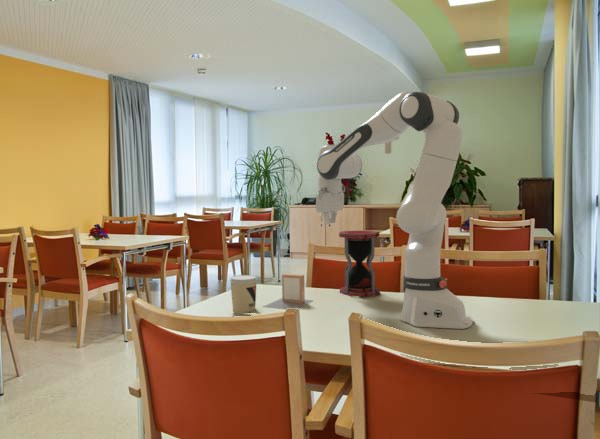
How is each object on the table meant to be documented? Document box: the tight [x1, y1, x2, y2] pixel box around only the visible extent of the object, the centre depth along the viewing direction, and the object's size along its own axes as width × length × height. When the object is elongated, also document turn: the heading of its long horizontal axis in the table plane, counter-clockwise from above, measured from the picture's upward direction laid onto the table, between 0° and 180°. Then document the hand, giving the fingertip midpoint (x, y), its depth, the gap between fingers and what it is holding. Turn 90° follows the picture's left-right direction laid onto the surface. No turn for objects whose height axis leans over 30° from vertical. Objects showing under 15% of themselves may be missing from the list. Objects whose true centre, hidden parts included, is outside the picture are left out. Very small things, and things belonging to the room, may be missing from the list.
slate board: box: [262, 297, 314, 310], centre depth 187 cm, size 13×16×1 cm
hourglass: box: [338, 230, 381, 298], centre depth 205 cm, size 16×16×25 cm
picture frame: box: [281, 273, 306, 303], centre depth 190 cm, size 8×3×10 cm, turn 64°
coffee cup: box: [229, 274, 258, 315], centre depth 180 cm, size 9×9×12 cm
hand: (330, 223), depth 198 cm, fingers open, 4 cm apart
